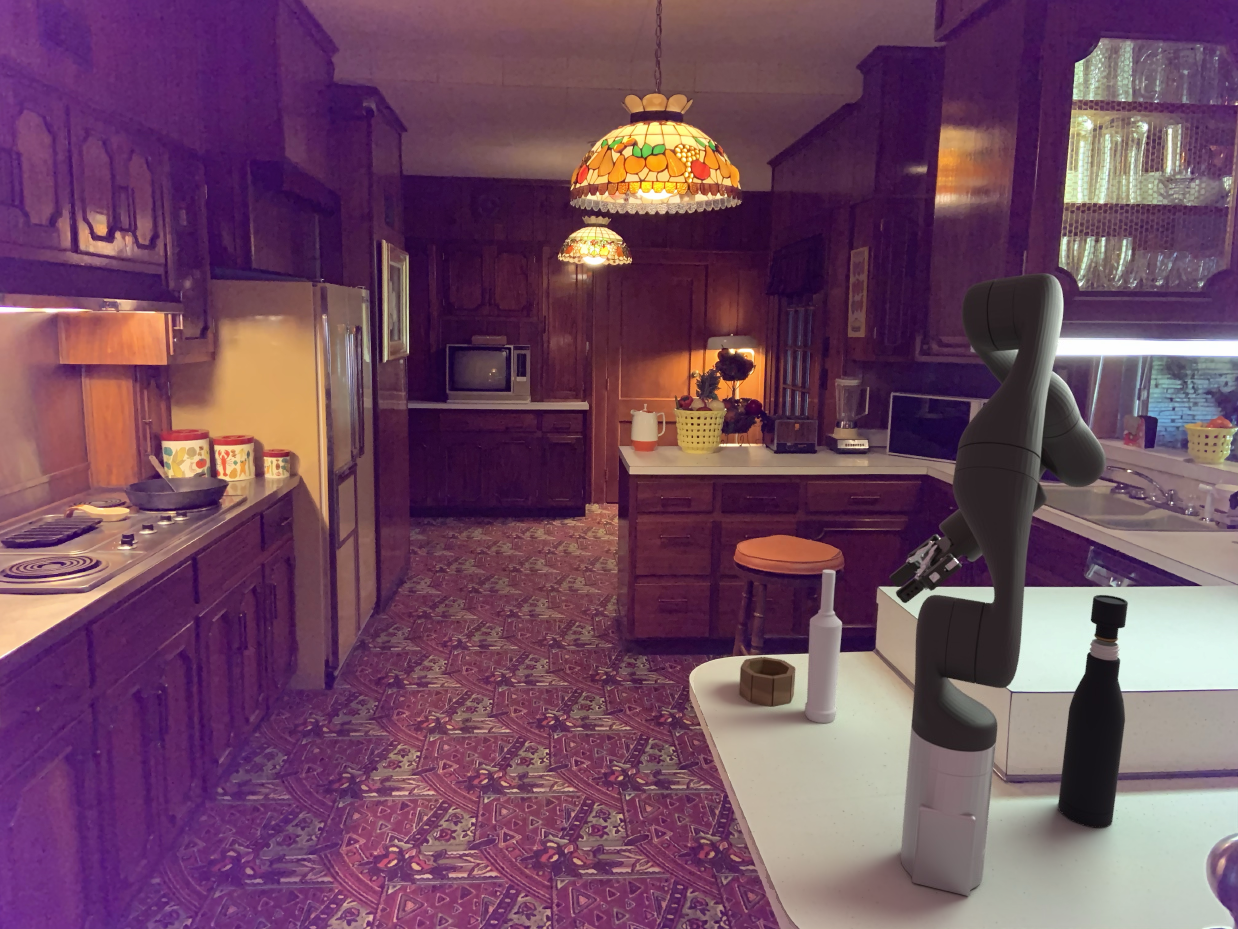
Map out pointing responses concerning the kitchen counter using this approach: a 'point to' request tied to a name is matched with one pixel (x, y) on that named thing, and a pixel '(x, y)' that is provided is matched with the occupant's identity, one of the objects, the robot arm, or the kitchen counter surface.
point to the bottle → (823, 656)
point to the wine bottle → (1095, 724)
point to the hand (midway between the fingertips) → (896, 590)
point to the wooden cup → (767, 681)
